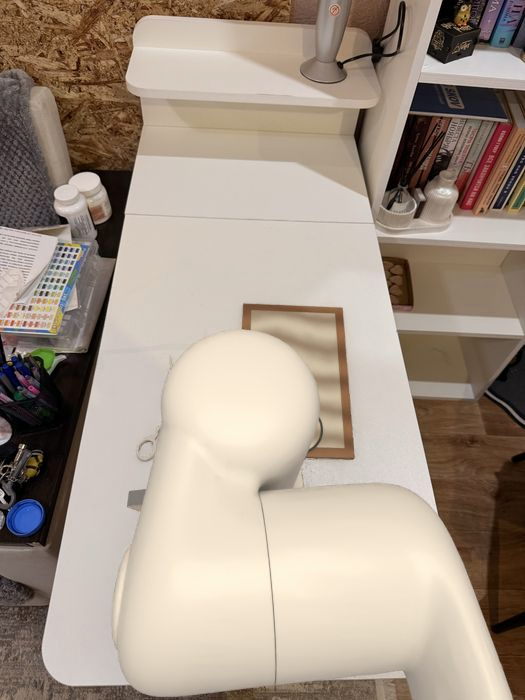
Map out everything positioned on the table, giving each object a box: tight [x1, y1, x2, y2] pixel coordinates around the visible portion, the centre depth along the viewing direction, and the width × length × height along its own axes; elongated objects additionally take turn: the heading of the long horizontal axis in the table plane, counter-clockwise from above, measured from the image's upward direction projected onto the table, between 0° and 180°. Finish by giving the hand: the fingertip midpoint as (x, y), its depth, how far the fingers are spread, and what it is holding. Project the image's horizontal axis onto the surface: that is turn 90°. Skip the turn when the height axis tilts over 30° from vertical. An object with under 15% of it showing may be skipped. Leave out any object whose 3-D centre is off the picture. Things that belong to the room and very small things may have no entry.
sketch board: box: [241, 302, 355, 460], centre depth 85 cm, size 28×18×1 cm, turn 179°
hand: (235, 522), depth 48 cm, fingers open, 9 cm apart
